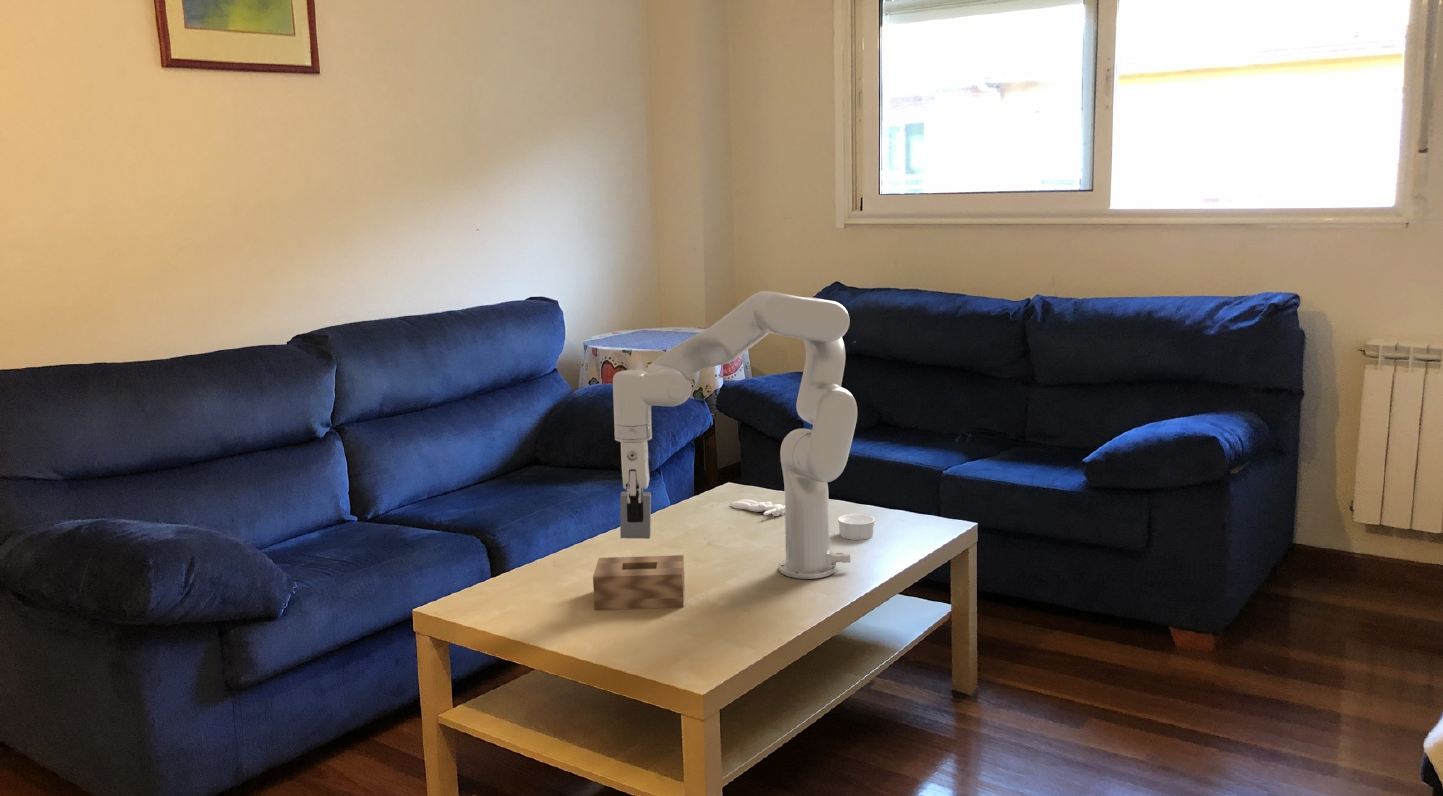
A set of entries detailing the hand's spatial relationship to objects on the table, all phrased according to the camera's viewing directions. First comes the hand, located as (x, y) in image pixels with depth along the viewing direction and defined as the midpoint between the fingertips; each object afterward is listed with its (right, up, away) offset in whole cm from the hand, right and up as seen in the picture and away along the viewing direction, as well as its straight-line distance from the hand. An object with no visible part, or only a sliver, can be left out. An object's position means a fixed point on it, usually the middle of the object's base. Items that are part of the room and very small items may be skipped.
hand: (635, 518), depth 225 cm
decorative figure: (+27, -5, +64) cm, 70 cm away
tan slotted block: (+1, -17, +3) cm, 17 cm away
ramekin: (+50, -9, +41) cm, 66 cm away
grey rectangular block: (0, -4, +1) cm, 4 cm away
